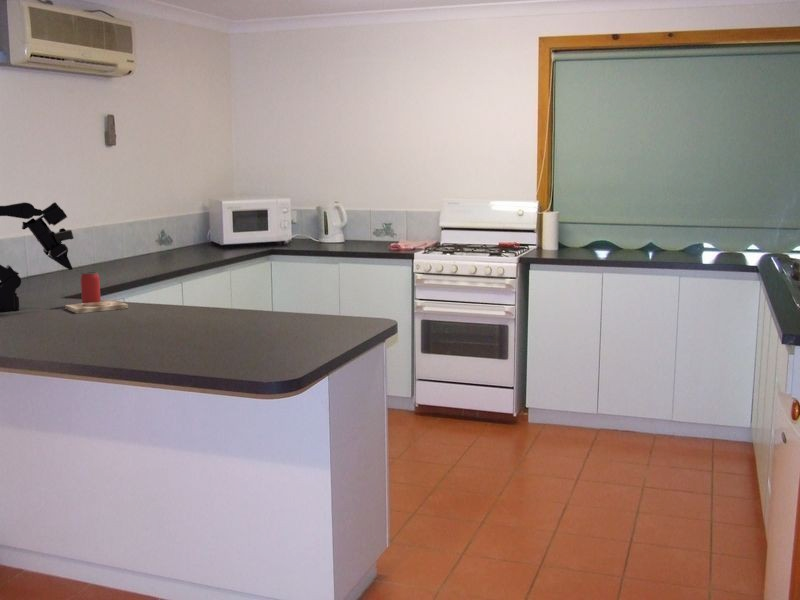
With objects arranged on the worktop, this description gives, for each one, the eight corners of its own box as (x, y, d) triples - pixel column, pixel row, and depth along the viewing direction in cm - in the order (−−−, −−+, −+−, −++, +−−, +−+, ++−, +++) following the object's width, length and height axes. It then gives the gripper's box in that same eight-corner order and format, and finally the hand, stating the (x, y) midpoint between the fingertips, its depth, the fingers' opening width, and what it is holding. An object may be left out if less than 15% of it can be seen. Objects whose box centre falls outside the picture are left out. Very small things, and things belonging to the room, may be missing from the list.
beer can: (78, 305, 313) (76, 273, 311) (92, 302, 318) (90, 271, 317) (91, 306, 310) (89, 273, 308) (104, 304, 315) (103, 272, 314)
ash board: (76, 313, 293) (76, 308, 293) (65, 309, 303) (65, 304, 303) (127, 308, 304) (127, 303, 304) (115, 304, 314) (115, 299, 314)
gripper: (66, 221, 299) (93, 257, 305) (58, 219, 315) (83, 253, 321) (38, 239, 295) (66, 275, 301) (31, 236, 311) (58, 270, 317)
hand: (69, 268), depth 310 cm, fingers open, 9 cm apart
